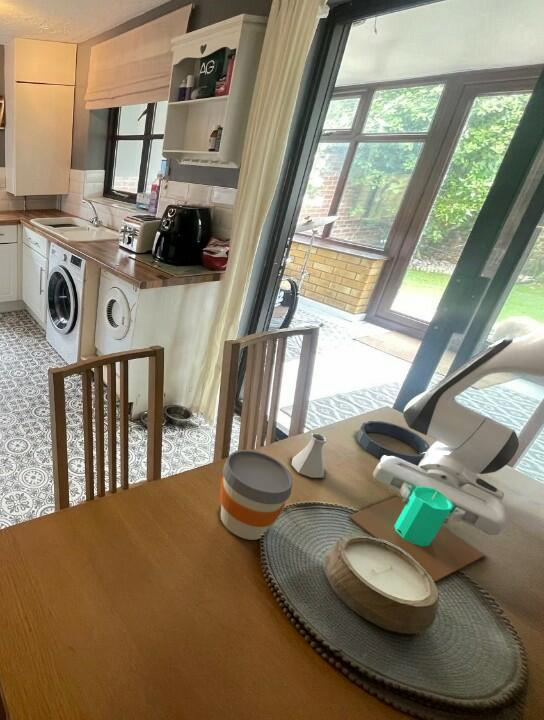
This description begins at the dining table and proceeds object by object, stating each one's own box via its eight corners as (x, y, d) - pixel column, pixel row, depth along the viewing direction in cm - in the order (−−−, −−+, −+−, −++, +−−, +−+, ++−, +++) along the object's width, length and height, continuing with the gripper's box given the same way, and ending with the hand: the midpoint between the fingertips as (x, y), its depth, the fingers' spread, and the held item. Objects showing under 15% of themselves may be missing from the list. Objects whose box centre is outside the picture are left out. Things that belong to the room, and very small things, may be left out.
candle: (394, 517, 90) (416, 476, 85) (430, 531, 87) (455, 490, 81) (394, 535, 86) (417, 493, 81) (432, 551, 82) (458, 509, 77)
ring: (437, 458, 107) (443, 448, 105) (401, 472, 102) (406, 462, 101) (379, 426, 119) (383, 416, 118) (344, 437, 115) (348, 427, 113)
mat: (483, 556, 82) (484, 555, 82) (432, 583, 77) (433, 581, 77) (396, 497, 95) (396, 496, 95) (348, 516, 91) (348, 515, 90)
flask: (295, 475, 102) (306, 443, 97) (287, 456, 108) (298, 425, 104) (328, 481, 100) (341, 449, 96) (318, 461, 106) (331, 430, 102)
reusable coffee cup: (242, 493, 97) (257, 443, 90) (289, 536, 86) (309, 483, 80) (199, 508, 93) (212, 457, 86) (242, 555, 82) (260, 501, 76)
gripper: (389, 443, 96) (369, 469, 88) (515, 497, 82) (505, 534, 74) (379, 463, 99) (359, 490, 91) (500, 519, 84) (488, 557, 77)
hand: (426, 510), depth 82 cm, fingers closed on candle, 5 cm apart
